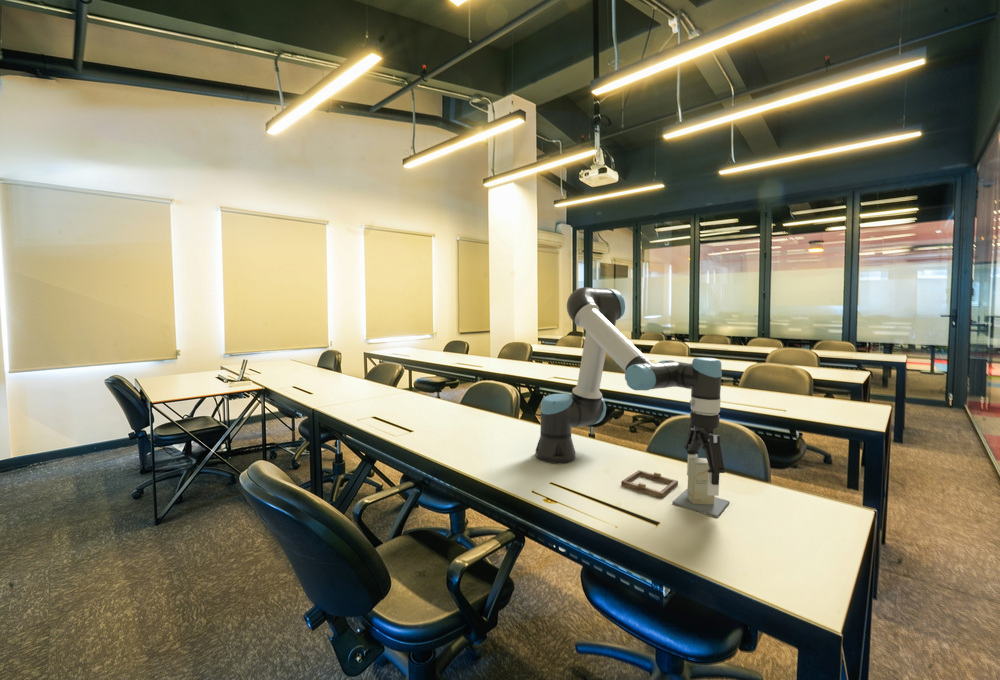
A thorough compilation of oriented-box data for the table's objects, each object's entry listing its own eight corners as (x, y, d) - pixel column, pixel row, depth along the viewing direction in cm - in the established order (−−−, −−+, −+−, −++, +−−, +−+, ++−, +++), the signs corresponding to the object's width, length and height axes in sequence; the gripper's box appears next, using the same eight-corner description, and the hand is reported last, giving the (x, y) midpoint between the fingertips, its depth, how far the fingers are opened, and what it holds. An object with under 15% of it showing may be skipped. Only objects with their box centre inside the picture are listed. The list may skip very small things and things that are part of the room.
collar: (621, 485, 133) (621, 478, 133) (638, 474, 142) (639, 467, 142) (662, 498, 124) (662, 490, 124) (677, 485, 134) (678, 478, 134)
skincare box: (692, 504, 119) (694, 462, 118) (686, 497, 123) (688, 457, 123) (715, 504, 119) (717, 463, 118) (708, 498, 123) (709, 457, 122)
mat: (672, 503, 121) (672, 501, 121) (686, 490, 129) (686, 489, 129) (717, 517, 113) (717, 515, 112) (729, 503, 121) (729, 501, 121)
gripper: (675, 402, 132) (672, 468, 133) (711, 423, 107) (708, 504, 108) (699, 403, 132) (696, 468, 133) (741, 424, 107) (737, 504, 108)
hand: (701, 484), depth 121 cm, fingers open, 13 cm apart
